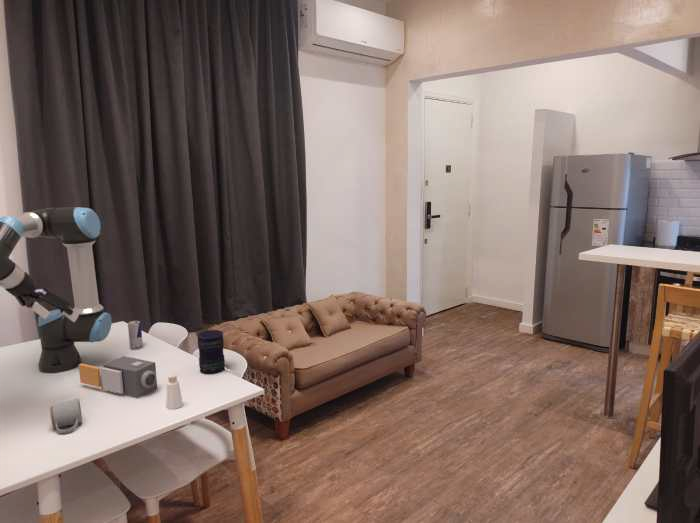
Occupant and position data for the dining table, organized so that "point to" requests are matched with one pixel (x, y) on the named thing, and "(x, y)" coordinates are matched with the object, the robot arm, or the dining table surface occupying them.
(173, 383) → the pepper shaker
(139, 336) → the energy drink
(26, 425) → the dining table surface
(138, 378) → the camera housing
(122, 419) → the dining table surface
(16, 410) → the dining table surface
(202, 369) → the storage jar
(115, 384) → the side door
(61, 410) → the ceramic mug
